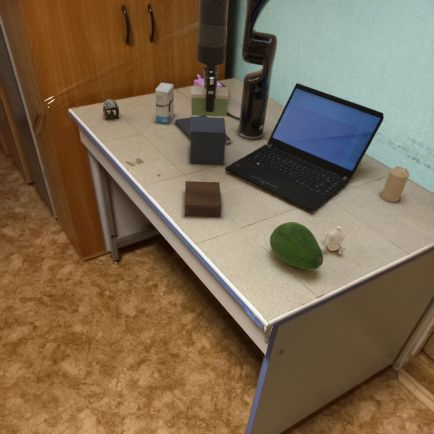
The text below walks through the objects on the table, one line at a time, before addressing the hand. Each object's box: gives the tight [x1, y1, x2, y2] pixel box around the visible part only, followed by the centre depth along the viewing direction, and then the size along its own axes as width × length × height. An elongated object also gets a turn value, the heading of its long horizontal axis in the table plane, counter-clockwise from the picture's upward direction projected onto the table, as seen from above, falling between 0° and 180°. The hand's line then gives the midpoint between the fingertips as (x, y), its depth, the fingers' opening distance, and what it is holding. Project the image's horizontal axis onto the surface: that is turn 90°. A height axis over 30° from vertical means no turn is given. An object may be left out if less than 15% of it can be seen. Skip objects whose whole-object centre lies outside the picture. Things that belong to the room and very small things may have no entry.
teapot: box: [193, 74, 223, 87], centre depth 171 cm, size 18×13×10 cm
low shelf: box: [184, 180, 222, 218], centre depth 121 cm, size 12×10×4 cm
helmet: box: [102, 98, 120, 120], centre depth 157 cm, size 6×8×7 cm
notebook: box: [174, 116, 231, 145], centre depth 155 cm, size 13×2×21 cm
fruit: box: [269, 221, 324, 271], centre depth 104 cm, size 15×10×10 cm, turn 33°
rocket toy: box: [323, 224, 346, 255], centre depth 109 cm, size 5×5×8 cm
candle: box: [380, 165, 410, 203], centre depth 129 cm, size 6×6×10 cm
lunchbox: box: [190, 85, 230, 118], centre depth 120 cm, size 6×10×6 cm, turn 93°
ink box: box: [154, 82, 175, 125], centre depth 158 cm, size 8×5×12 cm, turn 168°
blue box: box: [189, 116, 227, 166], centre depth 139 cm, size 11×11×11 cm
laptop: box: [224, 82, 385, 213], centre depth 133 cm, size 33×38×19 cm
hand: (209, 106), depth 121 cm, fingers closed on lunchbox, 6 cm apart
